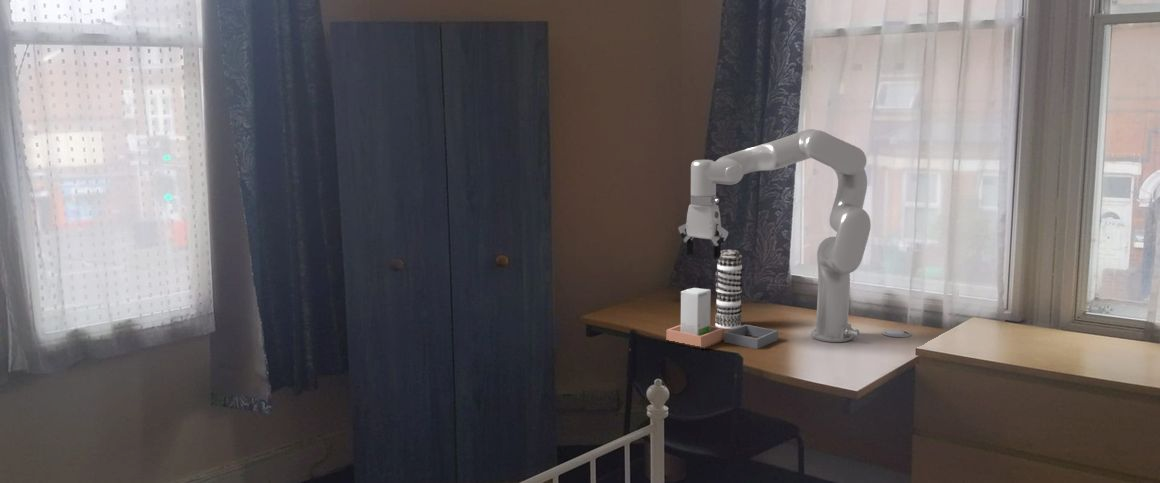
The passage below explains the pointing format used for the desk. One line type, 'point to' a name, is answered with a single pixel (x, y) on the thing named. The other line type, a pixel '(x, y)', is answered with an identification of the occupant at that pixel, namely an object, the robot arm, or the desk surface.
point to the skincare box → (695, 311)
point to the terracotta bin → (696, 336)
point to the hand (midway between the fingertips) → (702, 256)
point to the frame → (738, 337)
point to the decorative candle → (729, 289)
